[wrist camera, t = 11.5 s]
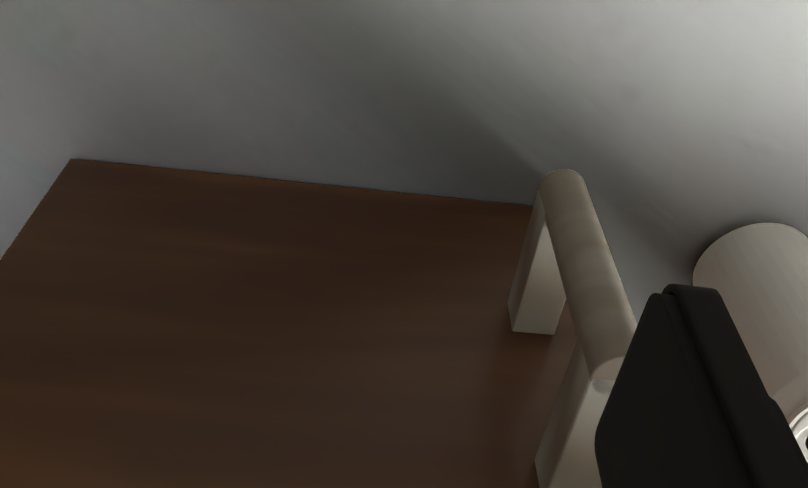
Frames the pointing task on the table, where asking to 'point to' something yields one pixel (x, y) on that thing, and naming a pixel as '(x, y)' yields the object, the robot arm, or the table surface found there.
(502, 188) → the table surface
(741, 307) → the beverage can
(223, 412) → the cabinet door
